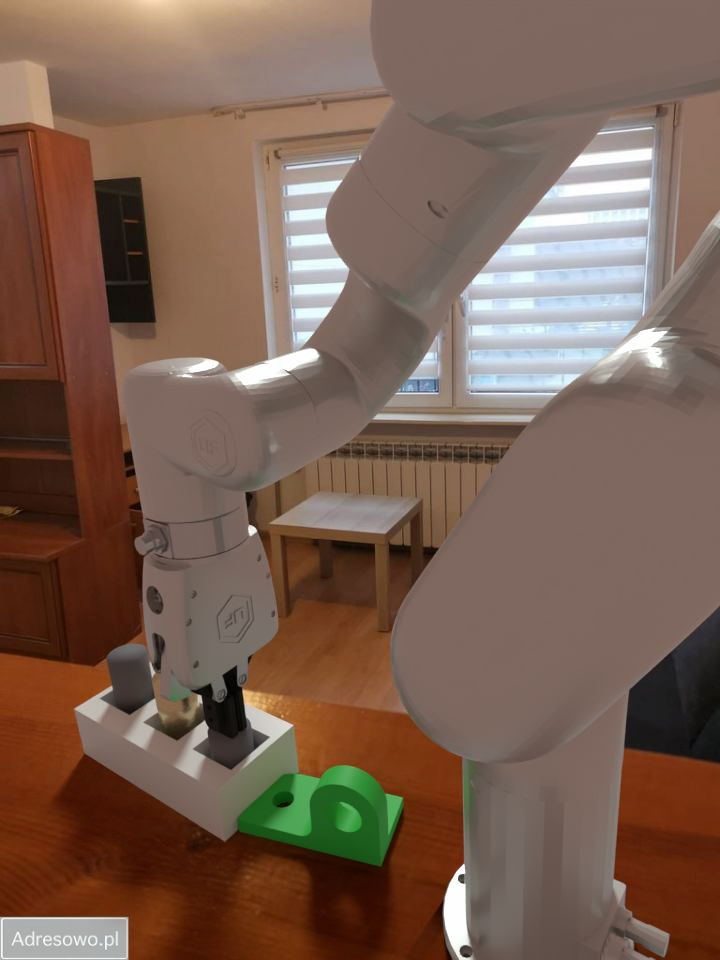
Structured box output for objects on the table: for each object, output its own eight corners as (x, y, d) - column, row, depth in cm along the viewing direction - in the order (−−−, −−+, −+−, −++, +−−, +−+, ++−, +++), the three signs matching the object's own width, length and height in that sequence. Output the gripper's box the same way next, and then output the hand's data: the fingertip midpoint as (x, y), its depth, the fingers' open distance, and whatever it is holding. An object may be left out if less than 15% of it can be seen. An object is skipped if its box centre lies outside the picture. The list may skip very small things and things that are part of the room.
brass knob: (211, 728, 65) (202, 671, 63) (180, 751, 62) (170, 693, 60) (185, 714, 67) (175, 659, 65) (154, 736, 64) (143, 680, 62)
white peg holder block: (299, 780, 64) (293, 725, 62) (226, 850, 57) (216, 791, 55) (161, 709, 75) (152, 660, 73) (86, 761, 68) (74, 708, 66)
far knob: (164, 704, 68) (154, 650, 66) (133, 725, 66) (122, 670, 64) (141, 692, 70) (130, 639, 68) (110, 712, 68) (98, 658, 66)
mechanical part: (403, 816, 59) (401, 738, 56) (381, 876, 54) (377, 793, 51) (272, 785, 63) (264, 710, 60) (240, 838, 58) (229, 759, 55)
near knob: (267, 781, 62) (260, 723, 60) (237, 808, 59) (228, 749, 57) (238, 765, 64) (229, 709, 62) (208, 790, 61) (198, 733, 59)
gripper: (149, 579, 46) (188, 804, 52) (300, 502, 57) (318, 695, 63) (80, 554, 50) (124, 764, 56) (234, 487, 61) (256, 669, 67)
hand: (227, 727), depth 60 cm, fingers closed
